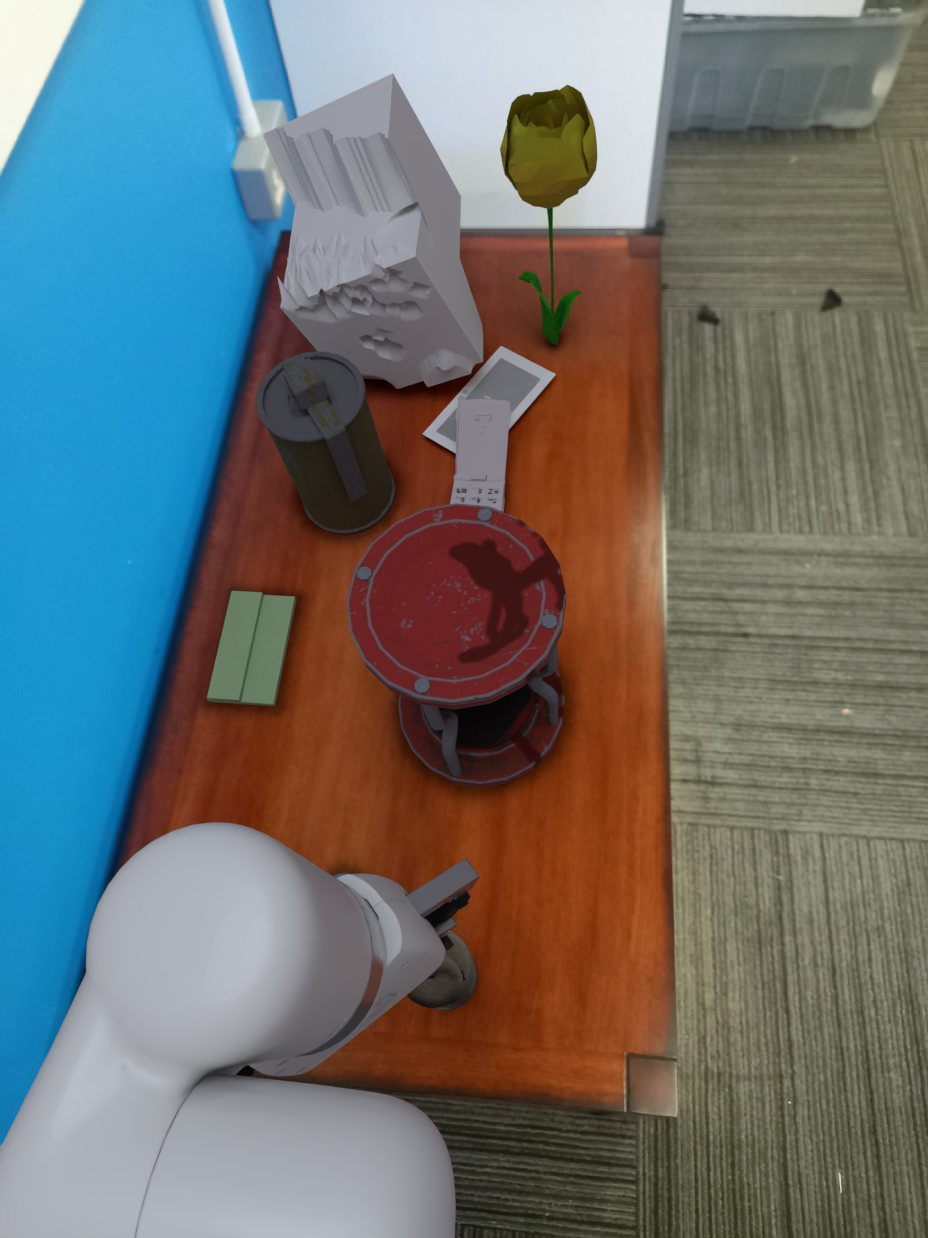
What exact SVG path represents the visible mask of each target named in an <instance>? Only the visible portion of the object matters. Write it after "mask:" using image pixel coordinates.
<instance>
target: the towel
mask: <svg viewBox="0 0 928 1238" xmlns="http://www.w3.org/2000/svg"><path fill="white" fill-rule="evenodd" d="M297 600H298V599H297V598H296V596H293V595H273V594H264V593H263V592H262V591H247V590H246V591H245V590H231V592H230V596H229V600H228V604H227V609H226V613H225V617H224V621H223V625H222V630H221V635H220V639H219V643H218V648H217V652H216V657H215V660H214V665H213V669H212V674H211V677H210V681H209V687H208V691H207V694H206V699H207V701H208V702H209V703H216V704H217V703H218V704H230V705H231V704H233V705H247V706H262V707H277V702H278V697H279V696H278V695H279V691H280V686H281V681H282V677H283V676H282V675H283V671H284V667H285V661H286V656H287V651H288V646H289V642H290V641H289V640H290V635H291V631H292V626H293V620H294V615H295V611H296V605H297Z"/></svg>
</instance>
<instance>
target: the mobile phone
mask: <svg viewBox="0 0 928 1238" xmlns="http://www.w3.org/2000/svg"><path fill="white" fill-rule="evenodd" d="M509 412H510V415H509ZM456 421H457V434H456V453H455V466H456V472H455V474H454V475H453V485H452V491H451V496H450V502H449V504H455V503H459V504H470V505H481V506H489V507H492V508H495V509H497V510H500V511H502V512H505V503H506V499H505V492H506V470H507V457H508V443H509V431H510V429H509V422H510V421H511V410H510V401H508V400H498V399H463V400H459V401H458V408H457V409H456Z"/></svg>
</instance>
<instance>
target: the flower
mask: <svg viewBox="0 0 928 1238" xmlns="http://www.w3.org/2000/svg"><path fill="white" fill-rule="evenodd" d="M499 152H500V158H501V165H502V169H503V173H504V176H505V177H506V178H507V179H508V181H509V182H510V183H511V185H512V187H513V188H514V190H515V191H516V192H517V195H518V196H519V197H520V200H522V201H523V202H524V203H526V204H528V205H530V206H532V207H535V208H542V209H546V212H547V213H546V214H547V223H548V245H549V262H550V304H549V302H548V300H547V298H546V297H545V295H544V293H543V288H542V284H541V281H540V279H539V276H538V274H536V273H535V272H532V271H530V270H524V271H523V272H522V273H521V274H520V275H519V276H518V277H517V280H519V281H522V282H525V283H528V284H530V285H532V287H533V289H534V290H535V291H536V292H537V293H538V295H539V302H540V311H541V333H542V334H543V336H544V338H545V339H546V340H547V342H549V343H550V344H552V345H557V346H558V345H559V342H560V336H559V335H560V333H561V331H562V329H563V328H564V326H565V325H566V323H567V321H568V318H569V315H570V312H571V309H572V306H573V304H574V302H575V299H576V298H577V297H578V296H579V295H581V294H582V291H581V290H579V289H573V290H572V291H570V292H568V293H565V294H564V295H563V296H562V297H561V298H560V300H559V302H558V303H557V306H556V309H555V284H554V283H555V282H554V281H555V278H554V275H555V274H554V220H553V219H554V208H558V207H560V206H561V205H563V203H565V201H567V200H569V199H570V198H573V197H574V196H576V195H578V194H579V191H580V190H581V189H582V188H585V187H586V186H587V185H588V184H589V182H590V181H591V179H592V177H593V176H594V174H595V172H596V171H597V165H598V143H597V131H596V125H595V122H594V118H593V115H592V114H591V111H590V109H589V107H588V104H587V102H586V100H585V98H584V96H583V94H582V92H581V90H578V89H577V88H575V87H574V86H571V85H569V84H566V85H564V86H563V87H561V88H560V89H558V88H557V89H553V90H547V91H546V90H545V91H534V92H533V93H532V94H531V93H523V94H520V95H518V96H517V97H516V98H514V99H513V100H512V101H511V104H510V107H509V111H508V115H507V118H506V126H505V130H504V133H503V137H502V141H501V144H500V148H499Z"/></svg>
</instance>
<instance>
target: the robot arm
mask: <svg viewBox="0 0 928 1238" xmlns="http://www.w3.org/2000/svg"><path fill="white" fill-rule="evenodd" d="M480 878H481V876H480V875H479V873H478V872H477V870H476V869H475V867H474V866H473V865H472V863H471V862H470V861H469V859H468V858H464V859H462V860H461V861H459V862H458V863H456V864H454V865H453V866H451V867H450V868H448V869H446V870H445V871H443V872H442V873H440V874H439V875H437V876H436V877H434V878H432V879H431V880H429V881H427V882H426V883H424V884H423V885H420V886H419V887H418V888H416V889H414V890H413V891H412V892H410V893H409V892H408V891H407V890H406V889H405V888H404V887H403V886H402V885H401V884H399V883H398V882H396V881H394V880H393V879H391V878H387V877H385V876H383V875H378V874H371V873H348V874H346V875H343V876H340V877H338V878H335V877H334V875H332V874H330V873H328V872H327V871H325V870H324V869H323V868H320V867H319V866H317V864H314V863H313V862H312V861H310V860H308V859H307V858H305V857H304V856H303V855H301V854H299V853H298V852H296V851H294V850H293V849H291V848H290V847H288V846H287V845H285V844H283V843H282V842H281V841H279V840H278V839H275V838H274V837H273V836H270V835H269V834H266V833H264V832H262V831H260V830H257V829H255V828H252V827H249V826H246V825H243V824H238V823H231V822H221V821H219V822H218V821H214V822H203V823H195V824H191V825H190V824H189V825H186V826H184V827H180V828H177V829H174V830H172V831H170V832H167V833H165V834H163V835H161V836H159V837H157V838H155V839H153V840H152V841H150V842H149V843H148V844H145V846H143V847H142V848H141V849H140V850H138V851H137V852H136V853H134V854H133V855H132V856H131V857H130V858H129V859H128V860H127V861H126V862H125V863H124V864H123V865H122V866H121V867H120V868H119V869H118V870H117V872H116V873H115V875H114V876H113V877H112V878H111V880H110V881H109V883H108V884H107V886H106V888H105V890H104V891H103V893H102V895H101V897H100V899H99V901H98V902H97V904H96V905H97V906H96V908H95V910H94V913H93V916H92V919H91V920H90V921H91V922H90V925H89V930H88V937H87V940H86V955H85V974H84V976H83V979H82V981H81V983H80V985H79V987H78V990H77V991H76V994H75V996H74V998H73V1000H72V1002H71V1005H70V1006H69V1008H68V1011H67V1012H66V1015H65V1017H64V1019H63V1021H62V1024H61V1025H60V1027H59V1030H58V1031H57V1032H58V1033H57V1034H56V1036H55V1039H54V1041H53V1043H52V1045H51V1046H50V1048H49V1051H48V1052H47V1055H46V1056H45V1058H44V1060H43V1062H42V1065H41V1066H40V1068H39V1070H38V1073H37V1075H36V1076H35V1078H34V1080H33V1082H32V1084H31V1086H30V1088H29V1090H28V1092H27V1094H26V1096H25V1098H24V1100H23V1101H22V1104H21V1106H20V1108H19V1110H18V1112H17V1113H16V1116H15V1118H14V1120H13V1122H12V1124H11V1126H10V1128H9V1129H8V1132H7V1134H6V1136H5V1137H4V1140H3V1142H2V1143H1V1144H0V1238H456V1217H457V1216H456V1215H457V1214H456V1213H457V1204H456V1202H457V1201H456V1187H455V1178H454V1177H455V1176H454V1170H453V1165H452V1160H451V1157H450V1153H449V1149H448V1146H447V1144H446V1142H445V1140H444V1138H443V1136H442V1134H441V1132H440V1130H439V1129H438V1127H437V1126H436V1124H435V1123H434V1122H433V1120H431V1118H430V1117H429V1116H428V1115H427V1114H426V1113H425V1112H424V1111H422V1110H421V1109H419V1107H417V1106H416V1105H414V1104H412V1103H410V1102H408V1101H406V1100H404V1099H402V1098H399V1097H395V1096H393V1095H389V1094H386V1093H381V1092H375V1091H369V1090H361V1089H355V1088H347V1087H338V1086H332V1085H324V1084H317V1083H307V1082H299V1081H290V1080H280V1079H274V1078H273V1079H272V1078H264V1077H263V1078H262V1077H254V1076H253V1075H254V1074H255V1071H257V1072H259V1073H261V1074H263V1075H265V1076H271V1077H293V1076H299V1075H303V1074H306V1073H308V1072H310V1071H311V1070H313V1069H314V1068H316V1067H317V1066H319V1065H320V1064H322V1063H323V1062H324V1061H325V1060H327V1059H329V1058H330V1057H331V1056H332V1055H334V1054H335V1053H337V1051H339V1050H340V1049H341V1048H343V1047H344V1046H345V1045H347V1044H348V1043H349V1042H350V1041H352V1040H353V1039H354V1038H355V1037H357V1036H358V1035H359V1034H360V1033H361V1032H363V1031H364V1030H366V1029H367V1028H368V1027H369V1026H371V1025H372V1024H373V1023H374V1022H375V1021H377V1020H378V1019H380V1017H382V1016H383V1015H384V1014H385V1013H387V1012H388V1011H389V1010H390V1009H391V1008H393V1007H394V1006H395V1005H396V1004H398V1003H399V1002H400V1001H402V999H404V998H405V997H406V996H407V994H409V993H410V992H411V991H412V990H413V989H415V988H416V987H417V986H418V985H419V984H421V983H422V982H423V981H424V980H425V979H427V978H428V977H429V976H430V975H431V974H432V973H433V972H434V971H435V970H436V969H437V968H438V967H439V966H440V965H441V964H442V962H443V960H444V957H445V949H446V950H447V951H448V950H449V949H450V948H451V947H453V946H454V944H453V942H452V941H451V939H450V938H449V937H448V935H447V934H449V933H450V932H451V931H452V932H453V931H454V930H455V929H456V928H457V927H458V923H457V921H456V920H455V918H454V916H455V915H456V914H457V913H458V912H459V910H462V909H464V908H465V907H467V906H468V905H469V903H470V902H469V901H470V898H471V897H472V896H471V894H470V893H469V891H471V890H473V888H474V887H475V885H476V884H477V882H478V881H479V879H480Z"/></svg>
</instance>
